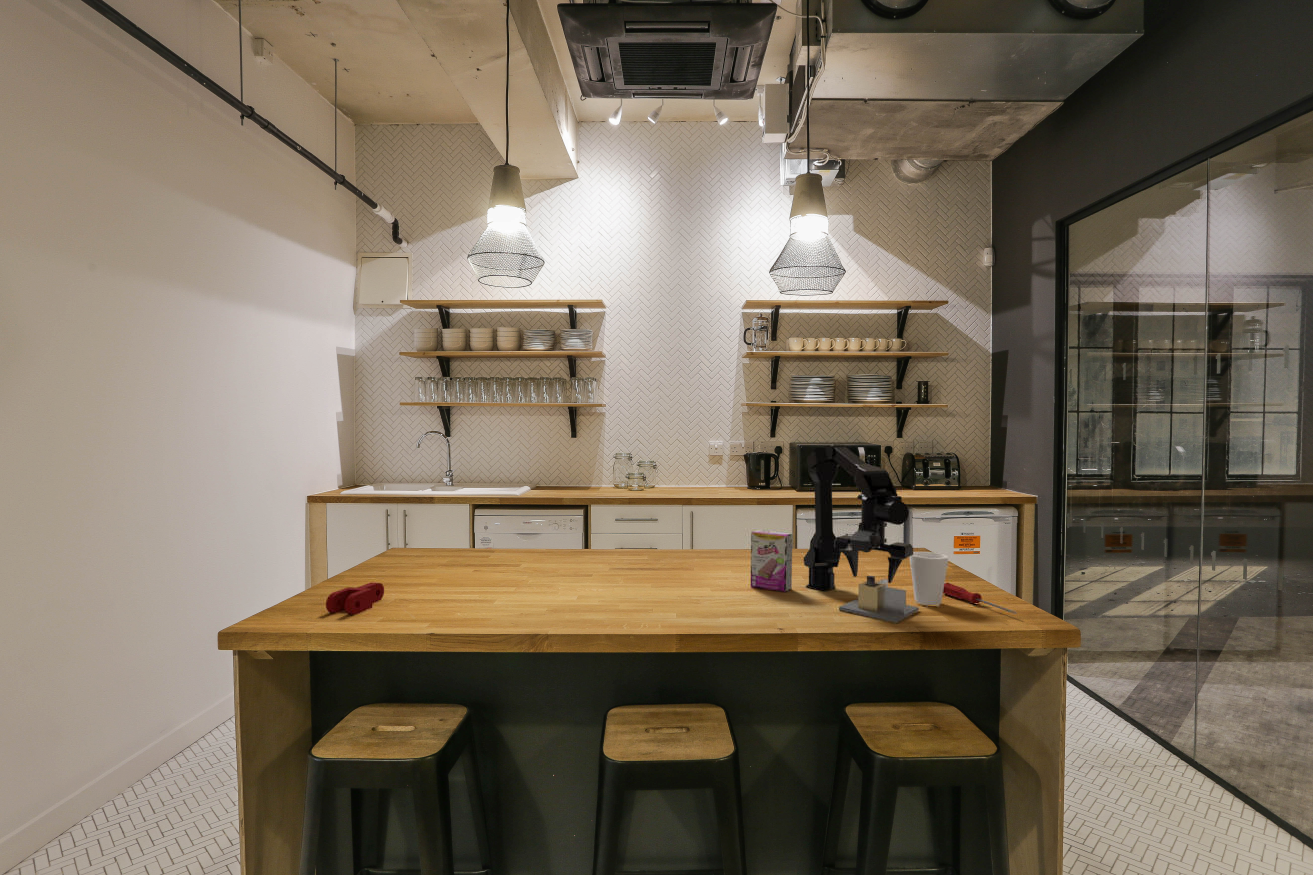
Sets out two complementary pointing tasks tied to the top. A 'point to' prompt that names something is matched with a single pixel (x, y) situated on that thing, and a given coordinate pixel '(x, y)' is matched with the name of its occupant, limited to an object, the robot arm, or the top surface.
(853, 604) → the base plate
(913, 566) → the foam cup
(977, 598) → the screwdriver
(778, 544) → the candy bar box
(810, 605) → the top surface
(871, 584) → the hinge pin
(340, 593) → the mechanical linkage
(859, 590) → the hinge
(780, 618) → the top surface
